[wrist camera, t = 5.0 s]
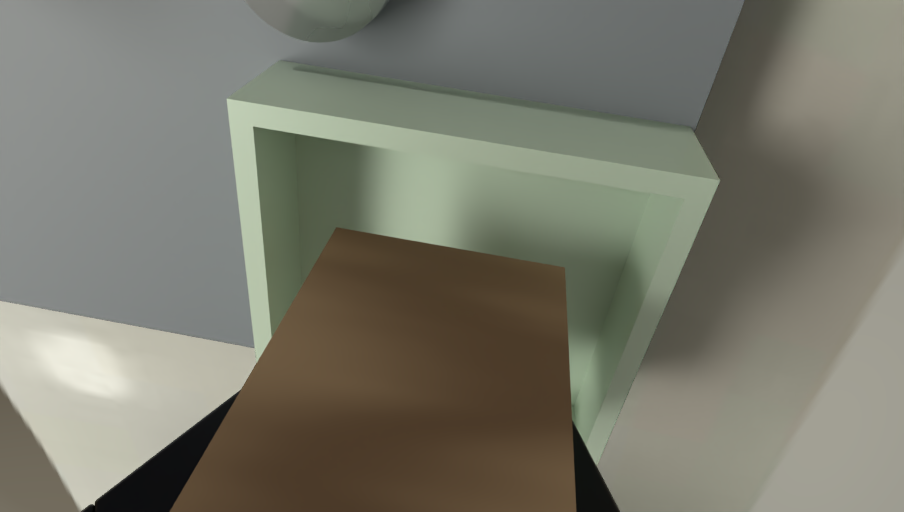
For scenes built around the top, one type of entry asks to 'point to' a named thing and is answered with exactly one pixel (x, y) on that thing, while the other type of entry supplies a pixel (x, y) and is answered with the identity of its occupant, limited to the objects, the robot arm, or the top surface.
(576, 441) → the robot arm
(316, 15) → the crank
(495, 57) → the plate
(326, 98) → the tray
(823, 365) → the top surface
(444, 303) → the block
